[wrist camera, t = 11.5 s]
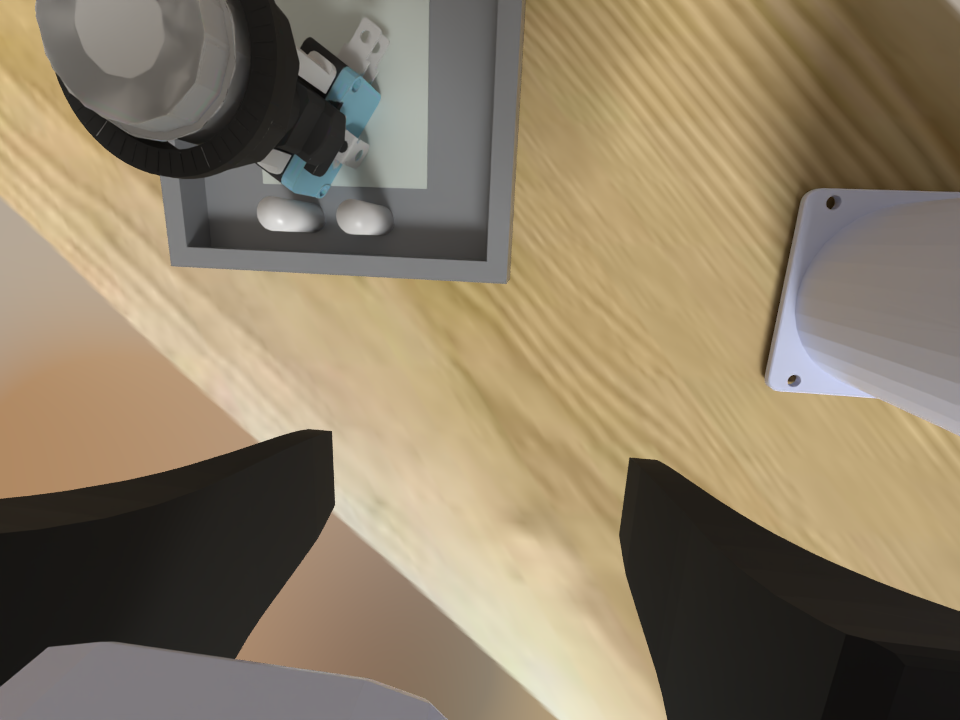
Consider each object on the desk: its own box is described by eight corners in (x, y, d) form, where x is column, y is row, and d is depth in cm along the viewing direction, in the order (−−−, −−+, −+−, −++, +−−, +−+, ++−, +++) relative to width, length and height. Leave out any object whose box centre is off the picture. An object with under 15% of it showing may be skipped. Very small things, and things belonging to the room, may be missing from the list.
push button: (331, -4, 17) (77, -306, 8) (445, 87, 18) (335, -96, 8) (249, 152, 19) (-40, 63, 10) (353, 232, 19) (175, 223, 10)
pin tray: (536, -188, 16) (536, -315, 12) (509, 278, 20) (503, 287, 16) (163, -169, 17) (65, -277, 14) (208, 263, 22) (141, 267, 18)
